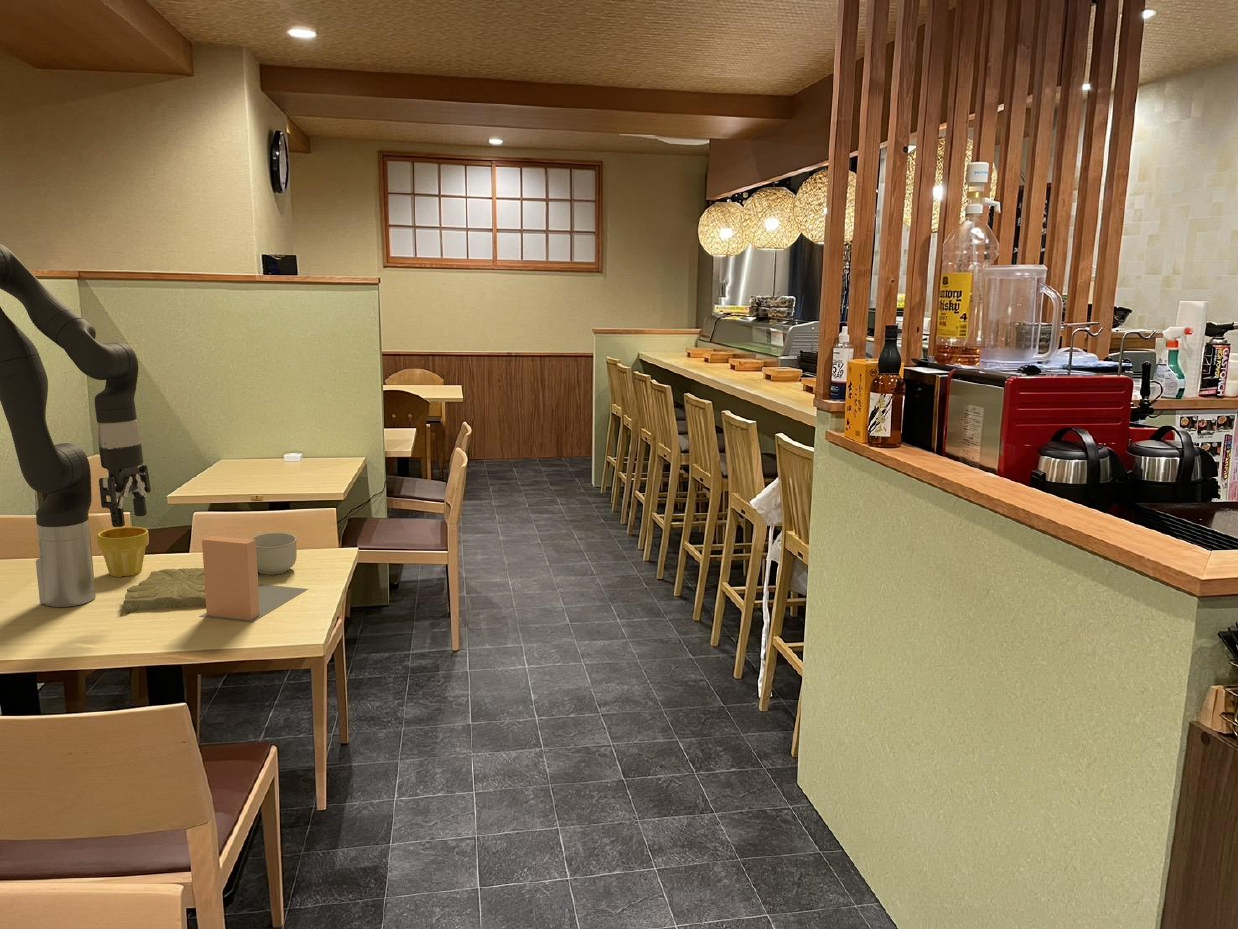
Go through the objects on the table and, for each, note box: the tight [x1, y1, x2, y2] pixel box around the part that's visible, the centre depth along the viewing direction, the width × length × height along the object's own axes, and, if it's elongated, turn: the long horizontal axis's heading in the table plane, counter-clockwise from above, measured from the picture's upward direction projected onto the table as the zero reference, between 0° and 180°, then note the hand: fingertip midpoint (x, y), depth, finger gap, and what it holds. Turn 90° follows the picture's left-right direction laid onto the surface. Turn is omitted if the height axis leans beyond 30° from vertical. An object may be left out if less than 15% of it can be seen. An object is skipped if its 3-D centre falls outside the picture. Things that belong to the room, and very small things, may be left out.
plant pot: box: [96, 526, 150, 578], centre depth 206 cm, size 10×10×10 cm
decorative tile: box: [122, 567, 206, 613], centre depth 193 cm, size 19×20×4 cm
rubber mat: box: [199, 583, 309, 624], centre depth 189 cm, size 12×21×1 cm, turn 169°
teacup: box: [250, 532, 298, 576], centre depth 210 cm, size 14×11×8 cm
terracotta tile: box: [201, 535, 260, 620], centre depth 180 cm, size 10×3×16 cm, turn 79°
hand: (130, 521), depth 182 cm, fingers open, 8 cm apart
